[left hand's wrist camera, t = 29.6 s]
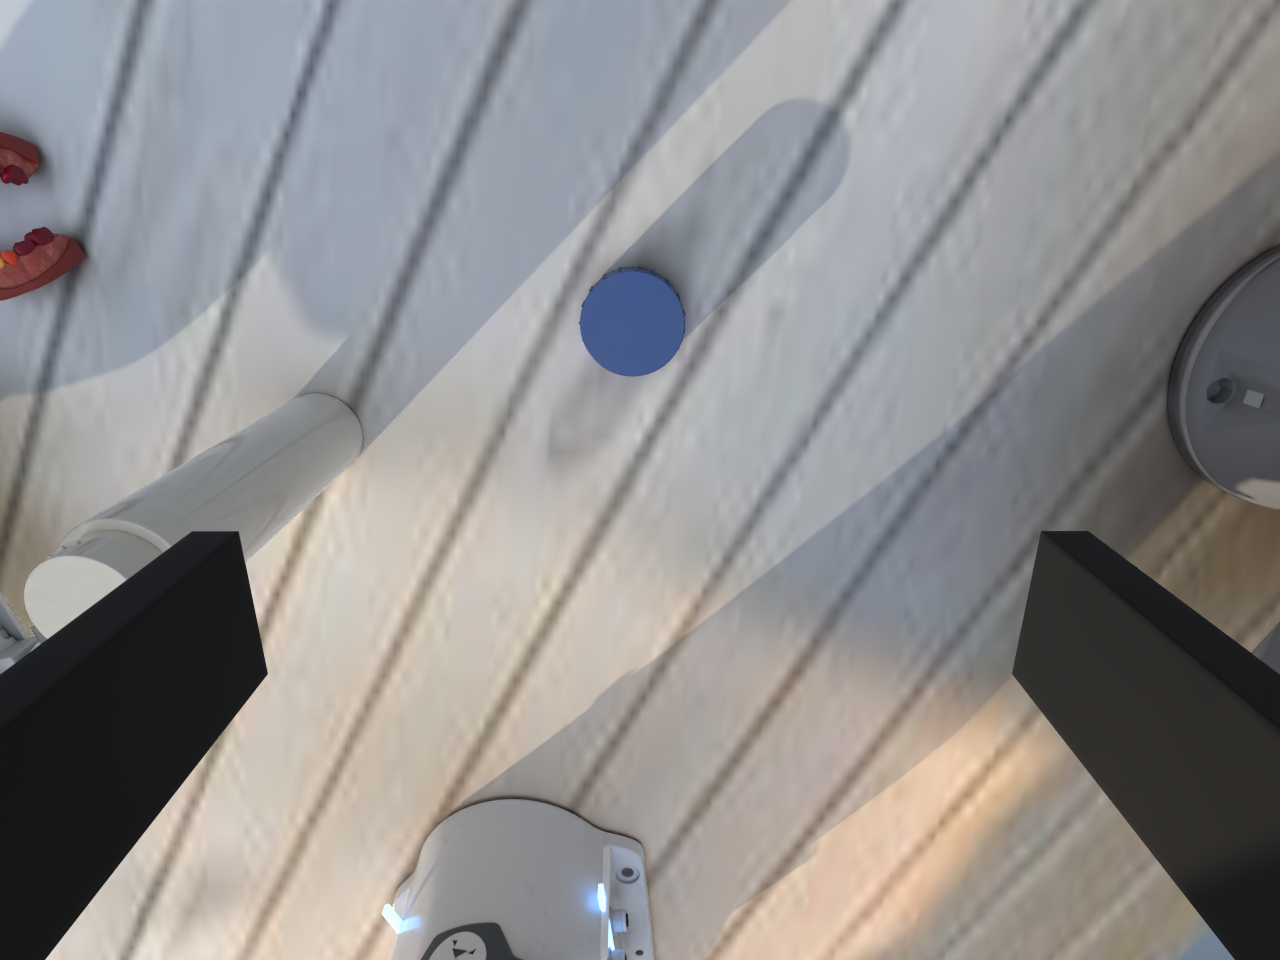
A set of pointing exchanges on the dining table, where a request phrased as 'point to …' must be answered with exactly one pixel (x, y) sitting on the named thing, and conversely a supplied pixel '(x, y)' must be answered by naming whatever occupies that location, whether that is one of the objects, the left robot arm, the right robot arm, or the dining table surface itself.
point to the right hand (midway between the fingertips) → (32, 543)
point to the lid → (632, 321)
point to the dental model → (41, 248)
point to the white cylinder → (201, 504)
